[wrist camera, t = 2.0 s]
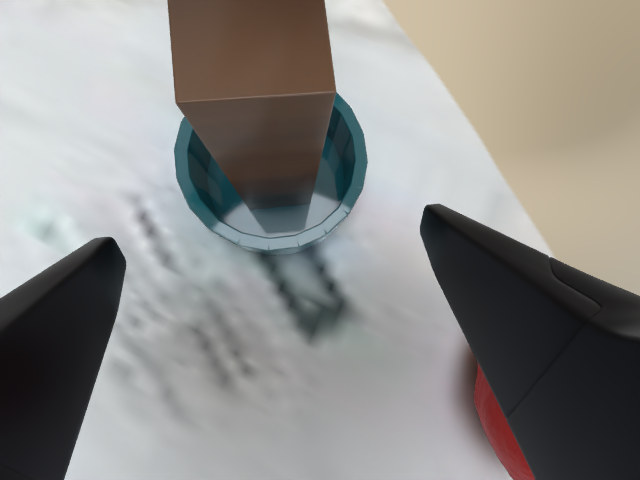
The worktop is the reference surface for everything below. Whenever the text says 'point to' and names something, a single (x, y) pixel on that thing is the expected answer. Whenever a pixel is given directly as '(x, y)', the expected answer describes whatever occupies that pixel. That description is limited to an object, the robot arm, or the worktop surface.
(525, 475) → the pomegranate
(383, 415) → the worktop surface
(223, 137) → the block
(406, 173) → the worktop surface
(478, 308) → the robot arm
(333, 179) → the teal mug
